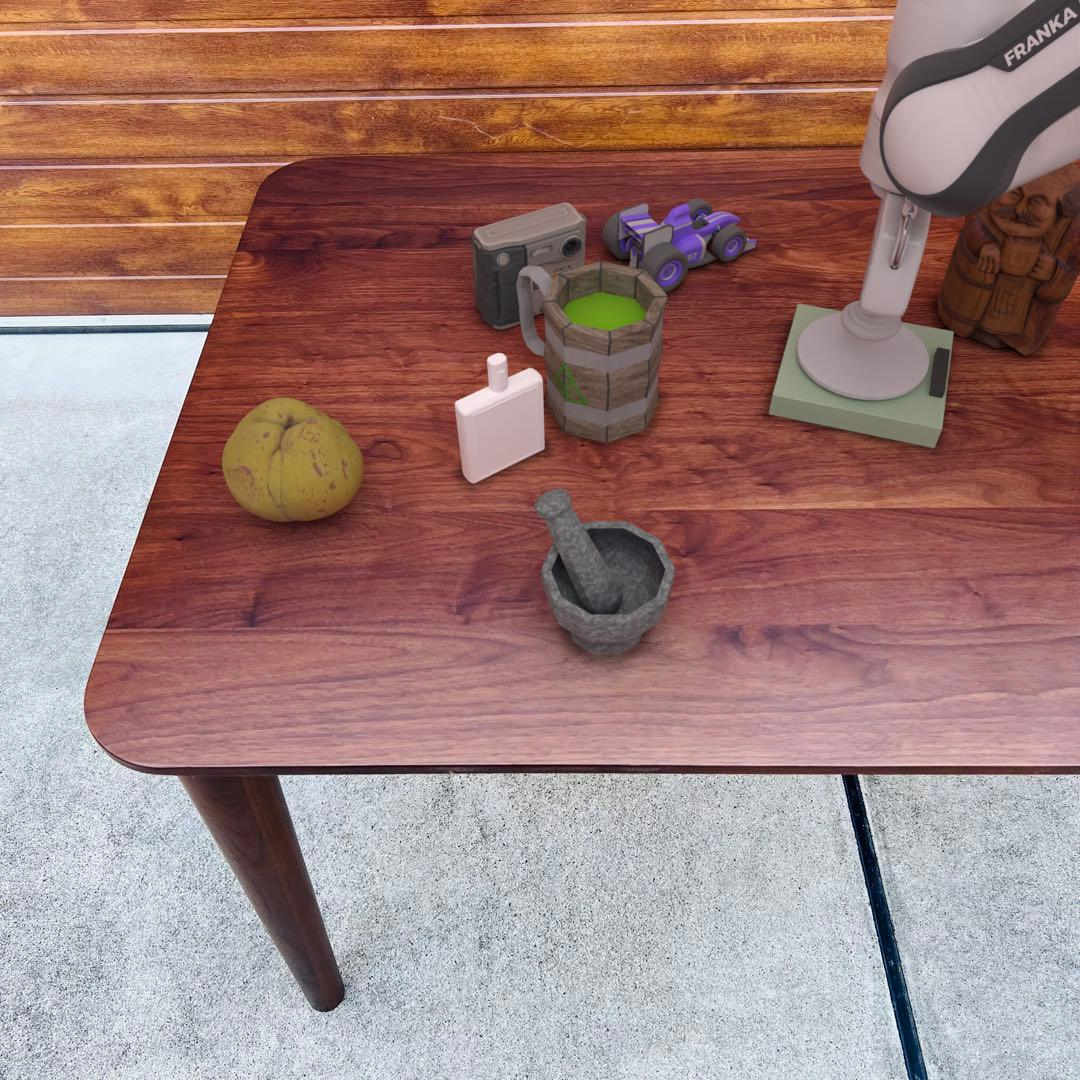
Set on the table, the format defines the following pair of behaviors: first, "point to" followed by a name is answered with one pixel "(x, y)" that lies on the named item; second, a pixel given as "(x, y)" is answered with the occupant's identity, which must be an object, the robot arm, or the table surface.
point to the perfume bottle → (500, 421)
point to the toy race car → (674, 240)
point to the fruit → (291, 462)
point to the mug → (597, 346)
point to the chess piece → (868, 324)
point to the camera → (523, 258)
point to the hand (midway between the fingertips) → (879, 294)
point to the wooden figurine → (1015, 263)
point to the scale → (864, 378)
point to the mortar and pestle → (602, 577)
